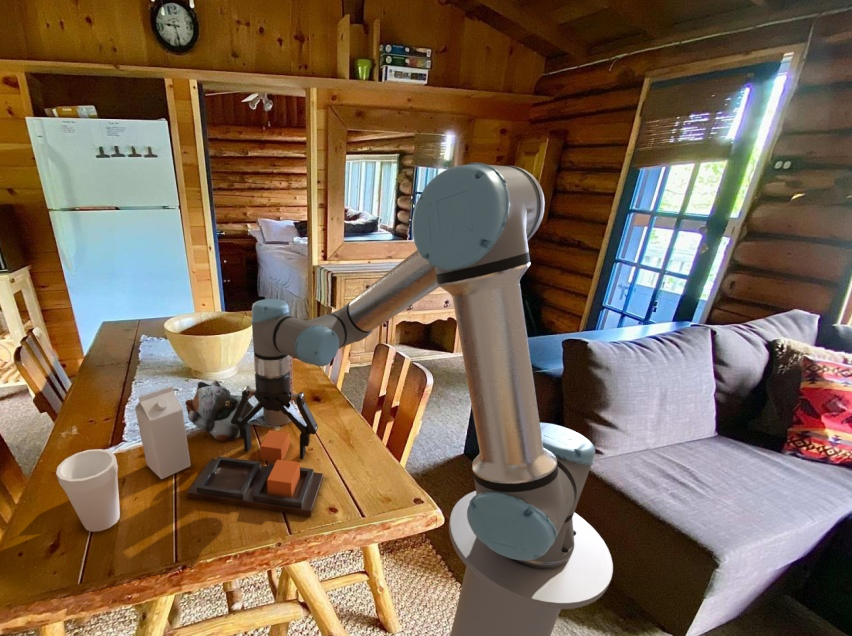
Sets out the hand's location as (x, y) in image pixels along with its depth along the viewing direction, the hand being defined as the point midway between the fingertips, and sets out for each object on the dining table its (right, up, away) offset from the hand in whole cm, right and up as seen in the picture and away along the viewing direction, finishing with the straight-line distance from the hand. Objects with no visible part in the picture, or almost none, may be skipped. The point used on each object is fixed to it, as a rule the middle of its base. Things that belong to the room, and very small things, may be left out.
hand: (275, 452), depth 105 cm
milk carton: (-23, -2, -5) cm, 24 cm away
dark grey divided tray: (-2, -6, -11) cm, 13 cm away
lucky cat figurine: (-15, +5, +9) cm, 18 cm away
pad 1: (0, 0, 0) cm, 0 cm away
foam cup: (-30, -10, -21) cm, 38 cm away
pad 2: (+4, -5, -13) cm, 14 cm away
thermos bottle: (-1, +7, +15) cm, 16 cm away
